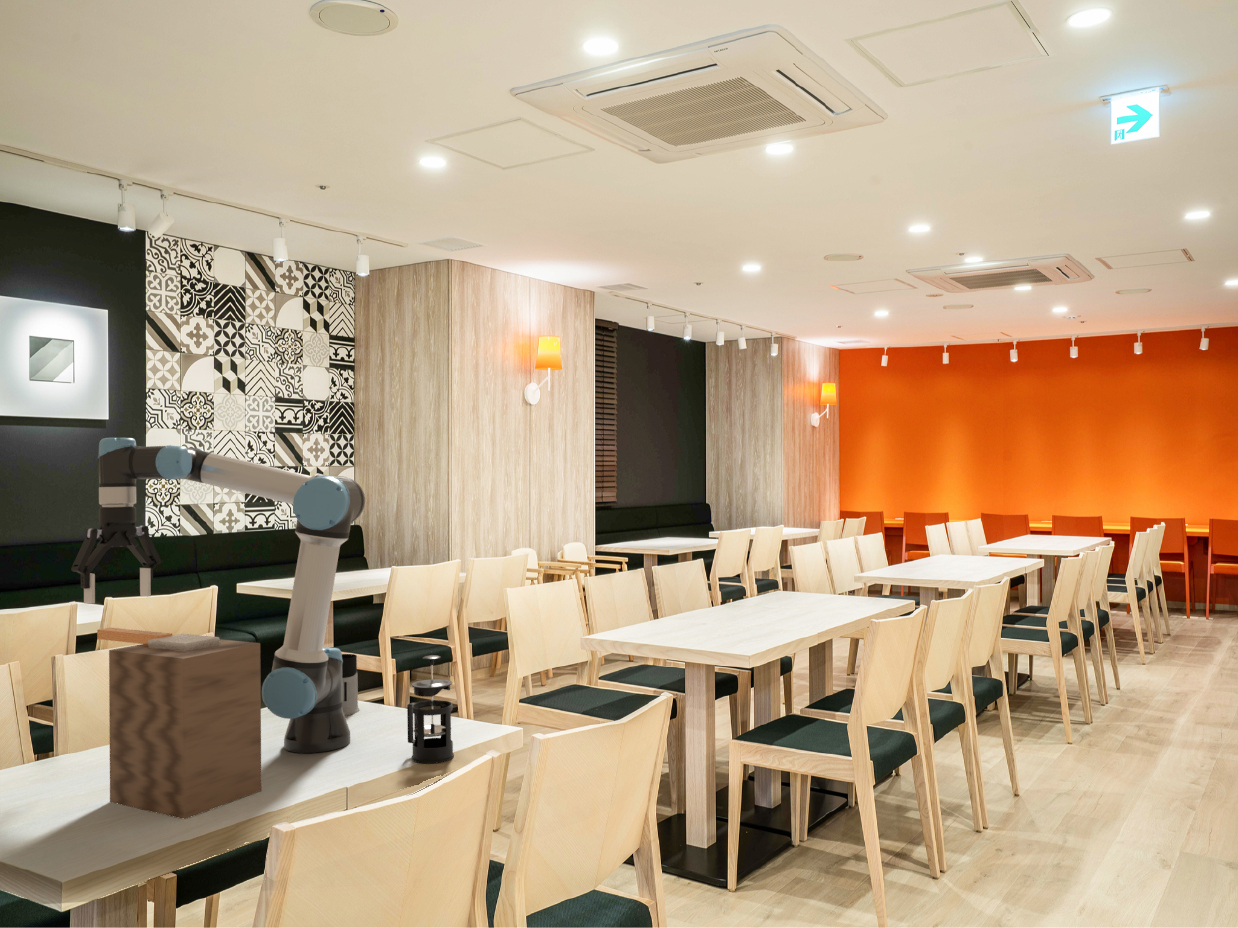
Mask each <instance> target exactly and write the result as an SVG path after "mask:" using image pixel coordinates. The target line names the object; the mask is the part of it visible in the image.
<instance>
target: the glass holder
mask: <svg viewBox="0 0 1238 928" xmlns="http://www.w3.org/2000/svg"><path fill="white" fill-rule="evenodd" d="M342 660H343V664H342V708H343V713H344V716H347V715H348V716H349V715H353V714H357V713H358V712H360V708H359V703H358V702H359V701H358V697H359V696H358V695H359V694H358V693H359V692H358V690H359V689H358V688H359V686H358V683H359V682H358V678H359V677H358V665H357V664H358V663H357V662H358V659H357V654H355V653H354V654H353V653H342Z"/></svg>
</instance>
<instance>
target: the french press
mask: <svg viewBox="0 0 1238 928" xmlns="http://www.w3.org/2000/svg"><path fill="white" fill-rule="evenodd" d="M441 658H442V656H440V655H436V654H435V655H434V654H431V655H425V656H423V657H422V660H424V661H425V660H427V661H429V666H430V674H431V675H430V679H424V680H423V679H421V680H418V681H415V682H412V684H411V687H412V688H413V695H414V696H416V697H423V698H425V697H426V698H428V697H429V698H430V697H431V698H430V699H431V700H423V701H418V702H411V703H408V704H407V706H406V707H407V711H406V712H407V716H406V717H407V743H409V744H412V756H411V761H412V762H414V763H415V764H420V765H421V764H423V765H424V764H426V765H434V764H441V763H446V762H448V761H451V760H453V759H454V757H455V754H454V741H453V740H452V727H451V725H452V721H451V720H452V716H451V715H452V711H453V702H451V701H448V700H440V699H435V700H434V697H435V696H436V695H438V694H439V693H440V692H441V691H443V690H446V691H451V685H453V682H452V680H451V679H450V680H449V679H441V678H440V679H439V678H434V676H433V674H434V672H433V671H434V667H433V666H434V665H435V661H436V660H441ZM426 707H427V709H425V708H426ZM428 707H431V709H429V708H428ZM434 707H439V708H434ZM438 715H440V724H434V716H438ZM425 716H431V724H430V725H429V724H427V725H425Z"/></svg>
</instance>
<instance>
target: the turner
mask: <svg viewBox="0 0 1238 928" xmlns="http://www.w3.org/2000/svg"><path fill="white" fill-rule="evenodd" d="M96 631H97V632H96V635H97V636H96V637H97V640H102V641H103V640H104V641H111V642H121V643H131V644H138V645H141V644H148V648H155V649H164V650H174V651H183V652H187V651H192V650H197V649H202V648H207V647H212V646H218V645H219V639H220V637H219V636H213V635H212V636H209V635H200V634H191V633H190V634H189V633H180V634H174V635H173V633H170V632H162V631H161V632H158V631H149V630H139V629H138V630H137V629H129V628H119V627H105V628H99V629H97V630H96Z"/></svg>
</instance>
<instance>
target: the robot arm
mask: <svg viewBox="0 0 1238 928" xmlns="http://www.w3.org/2000/svg"><path fill="white" fill-rule="evenodd" d="M97 459H98V480H99V481H98V504H99V505H100V506H101V507H99V508H98V522H99V529H97V528H86V529H85V535H84V540H83V542H82V544H81V546H80V548H79V551H78V553H77V555H76V557H75V559H74V561H73V563H72V566H71V569H70V571H72V572H76V573H77V574H79V575H80V588H81V590H82V589H83V603H84V604H87V605H93V604H96V589H95V588H96V575H95V573H92V572H93V570H94V569H95V568H96V566H97V565H98V564H99V563H100V562H101V560H102V559H103V556H105V554H106V553H107V552H108V550H110V549H112V548H119V547H121V548H122V547H123V548H127V549H128V550H129V551H130V552H131V553H132V554H133V556H134V557H135V558H136V559H137V560H138V561H139V563H140V565H142V567H139V593H140V595H139V596H140V597H147V598H148V597H151V594H152V593H151V592H152V591H151V582H153V580H154V569H155V568H156V567H157V565H161V564H162V560H161V558H160V555H159V553H158V551H157V548H156V547H155V545H154V542H153V540H152V538H151V536H150V531H149V526H148V525H138V526H136V524H135V523H136V522H137V508H136V507H135V506H134V505H136V504H137V480H169V481H171V480H187V481H192V482H196V483H202V484H206V485H210V486H213V487H219V488H223V489H227V490H232V491H236V492H238V493H239V492H240V493H244V494H248V495H252V496H257V497H261V498H263V499H269V500H272V501H273V500H274V501H277V502H281V503H286V504H289V505H292V509H293V513H294V516H295V518H296V525H295V531H294V533H295V534H296V535H297V537H298V538H299V540H300V543H299V550H298V555H297V556H298V557H297V562H296V568H295V573H294V580H293V584H292V585H293V586H292V593H291V598H290V602H289V610H288V615H287V622H286V627H285V633H284V640H283V645H282V646H281V647H280V648H278V649H277V650H276V651H275V652H274V655H273V656H274V658H273V661H272V668H271V672H269V673H268V675H266V678H265V679H264V681H263V683H262V685H261V699H262V701H263V703H264V705H265V706H266V708H267V709H268V710H269V711H270V713H272V714H273V715H275V716H277V717H279V718H281V719H287V720H288V719H289V722H288V725H287V728H286V731H285V734H284V738H283V748H284V750H286V751H287V752H292V753H298V754H299V753H301V754H310V753H311V754H313V753H323V752H329V751H334V750H339V749H341V748H344V747H346V746H347V745H349V744H350V743H351V730H350V728H349V724H348V722H347V719H346V715H344V713H343V708H342V664H343V660H342V654H343V653H342V650H341V649H340V648H338V647H324V644H325V638H326V634H327V633H326V632H327V628H328V621H329V614H330V608H331V604H332V597H333V592H334V591H333V590H334V585H335V577H336V573H337V567H338V559H339V554H340V550H341V549H340V548H341V546H342V545H343V544H344V543H345V542H347V541H349V538H350V537H349V536H350V531H351V526H352V525H351V524H352V523H354V522H355V521H356V520H357V519H358V518H359V517H360V516H361V515H362V513H363V512H364V509H365V506H366V497H365V493H364V490H363V488H362V487H361V486H360V485H359V483H358V482H357V481H355V480H354V479H352V478H350V477H347V476H343V475H342V476H341V475H338V476H333V475H327V474H322V473H315V474H314V475H308V474H303V473H299V472H295V471H291V470H286V469H281V468H277V467H273V466H270V465H265V464H261V463H257V462H256V463H255V462H253V461H248V460H244V459H239V458H235V457H231V456H226V455H222V454H217V453H212V452H209V451H205V450H204V449H201V448H197V447H192V446H190V447H185V446H182V445H171V444H170V445H157V446H156V445H153V446H152V445H151V446H141V445H140V446H139V445H137V442H136V439H135V438H133V437H105V438H102V439H101V440H100V441H99V444H98V456H97ZM135 535H136V536H137V537H138V540H139V542H140V544H141V546H140V544H139V542H138V541H137V539H136V538H135ZM98 538H100V540H99V541H98V542H97V540H98ZM96 543H97V544H96ZM95 545H96V547H95Z"/></svg>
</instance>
